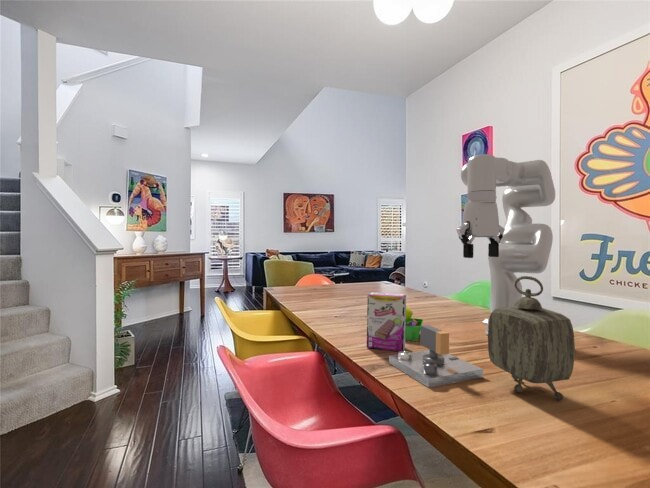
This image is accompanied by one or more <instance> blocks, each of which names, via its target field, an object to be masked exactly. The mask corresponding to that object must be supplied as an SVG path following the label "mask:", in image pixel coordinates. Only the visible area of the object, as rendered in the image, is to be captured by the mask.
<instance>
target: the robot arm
mask: <svg viewBox="0 0 650 488" xmlns="http://www.w3.org/2000/svg"><path fill="white" fill-rule="evenodd" d="M552 176H553V175H552V172H551V169H550V168H549V165H548V163H547V162H546V161H544V160H543V159H536V160H534V159H533V160H529V161H521V162H516V161H512V160H508V159H507V158H505V157H495V155H493V154H486V153H485V154H476V155H472V156H471V157H469V159H468V160H467V163H465V164H464V165H463V166H462V168H461V170H460V178H461V181H462V183H463V184H464V185H465V186H466V187H467V196H466V197H467V199H466V200H467V201H466V202H467V203H464V207H463V215H462V222H461V225H460V226H459V227H457V228H456V232H457V236H458V239H459V240H460V242H461V244H462V245H463V246H462V247H463V248H462V249H463V250H462V251H463V252H462V253H463V254H462V255H463V258H466V259H473V258H474V244H473V241H474V240H475V238H487V240H488V241H489V243H488V247H487V248H488V250H487V251H488V254H487V261H488V265H489V271H490V314H489V316H490V315H491V313H492V312H493V311H494V309H497V308H506V307H516V306H514V305H515V303H516V301H517V300H518V299H519V298H521V297H523V294H521V293H519V292H518V291H517V290H516V288H515V281H516V280H517V279H518V278H519V277H517V275H516V274H515V273H518V274H519V273H520V274H541V273H543V272H545V271H546V269H547V266H548V263H549V260H550V254H551V250H552V245H553V241H554V240H553V239H554V238H553V237H554V235H553V230H552V228H551V227H550V226H549V225H548V224H546V223H533V218H532V216H531V215H530V214H529V213H528V212H526V210H524V209H522V208H536V207H539V208H540V207H548V206H551V205H552V204H553V203H554V202H555V200H556V189H555V186H554V181H553V177H552ZM497 187H498V188H499V187H500V188H501V187H507V188H505V190H504V191H503V193H502V196H501V197H502V198H501V202H502V209H503V212H504V215H505V219H506V220H505V222H504V225H503V226H501V225H500V218H499V210H498V209H499V208H498V205H497ZM517 287H518V289H520V290H521V291H523V285H522V282H521V280H520V281H518V283H517ZM482 325H486V326H488V325H489V318H485V319H484V320H483V321H482ZM484 332H485V334H486V335H487V336H488V328H486V329H485V331H484Z"/></svg>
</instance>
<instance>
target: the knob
mask: <svg viewBox="0 0 650 488" xmlns="http://www.w3.org/2000/svg"><path fill="white" fill-rule="evenodd" d="M419 338H420V339H419V342H420V343H419V345H420V346H423V347H424V348H427V350H430V352H429V354H426V355H423V361H424V362H432V363H435V364H437V365H439V364H443V363H444V361H445V359H444V357H442V356H440V355H445V354H450V333H449V332H448V331H445V330H442V329H439V328H437V327H434V326H432V325H429V324H422V326H420V334H419ZM438 354H439V355H438Z"/></svg>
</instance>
